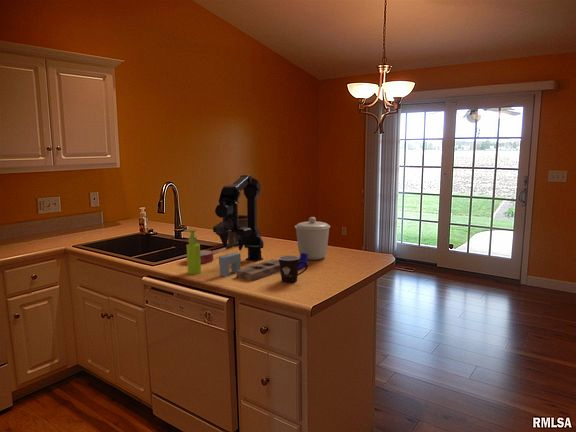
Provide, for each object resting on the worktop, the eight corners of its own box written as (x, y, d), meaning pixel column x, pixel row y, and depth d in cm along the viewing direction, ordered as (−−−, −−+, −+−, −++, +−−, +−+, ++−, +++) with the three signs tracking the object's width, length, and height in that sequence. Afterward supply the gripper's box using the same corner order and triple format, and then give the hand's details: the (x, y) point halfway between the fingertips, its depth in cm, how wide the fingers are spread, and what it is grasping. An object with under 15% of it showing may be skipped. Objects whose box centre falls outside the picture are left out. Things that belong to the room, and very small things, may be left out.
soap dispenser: (184, 271, 200) (182, 229, 197) (199, 270, 203) (197, 228, 200) (186, 275, 195) (184, 231, 192) (202, 273, 197) (199, 230, 194)
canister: (325, 263, 211) (325, 220, 208) (290, 260, 217) (289, 219, 214) (334, 254, 228) (334, 214, 225) (301, 252, 234) (300, 213, 231)
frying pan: (229, 250, 243) (228, 238, 242) (245, 253, 235) (245, 241, 234) (181, 261, 219) (181, 249, 218) (198, 265, 211) (197, 253, 210)
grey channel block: (219, 275, 194) (218, 256, 192) (235, 270, 201) (235, 252, 200) (224, 276, 191) (223, 258, 190) (241, 271, 199) (240, 253, 198)
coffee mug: (275, 281, 184) (274, 258, 182) (289, 276, 190) (289, 254, 188) (294, 286, 176) (294, 262, 174) (309, 282, 182) (308, 258, 180)
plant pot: (258, 243, 259) (257, 216, 256) (236, 248, 248) (235, 220, 245) (241, 239, 271) (240, 214, 268) (219, 243, 260) (218, 217, 257)
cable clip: (294, 272, 197) (294, 259, 196) (286, 270, 200) (286, 258, 199) (310, 266, 206) (310, 254, 206) (302, 265, 209) (302, 253, 208)
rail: (236, 276, 191) (236, 270, 191) (272, 265, 209) (272, 259, 209) (252, 280, 185) (252, 274, 184) (288, 268, 203) (288, 262, 203)
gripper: (203, 215, 192) (204, 249, 194) (234, 218, 181) (235, 255, 183) (221, 212, 200) (222, 245, 203) (252, 215, 189) (253, 250, 192)
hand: (232, 249), depth 195 cm, fingers open, 9 cm apart
